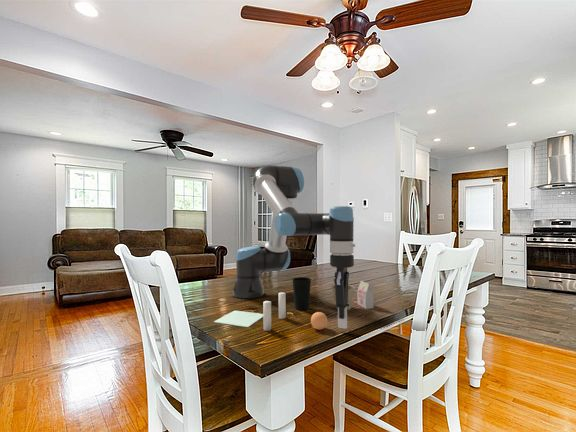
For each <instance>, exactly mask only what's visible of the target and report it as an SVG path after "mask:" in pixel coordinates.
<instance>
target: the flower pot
mask: <svg viewBox="0 0 576 432" xmlns="http://www.w3.org/2000/svg"><path fill="white" fill-rule="evenodd" d="M331 289H332V292H333V297H334V304H335V306H336V293H335V284H334V285H331ZM355 289H356V287H355V286H353V285H349V284H348V303H347V304H349V306H346V307H347V311H349V310H351V309H352V303H353V296H354V295H353V294H354V292H355ZM336 309H337V310H338V308H336Z"/></svg>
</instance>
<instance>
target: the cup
mask: <svg viewBox="0 0 576 432" xmlns="http://www.w3.org/2000/svg"><path fill="white" fill-rule="evenodd" d="M291 281H292V290H293V300H294V308H295V310H296V311H308V310H309V306H310V298H311V297H310V296H311V285H312V284H311V283H312V282H311V281H312V279H311V278H310V277H305V276H302V277H301V276H300V277H292V279H291Z"/></svg>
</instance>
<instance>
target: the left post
mask: <svg viewBox="0 0 576 432" xmlns="http://www.w3.org/2000/svg"><path fill="white" fill-rule="evenodd" d="M262 303H263V305H262V307H263V309H262V311H263V313H262V314H263V317H262V320H263V321H262V322H263V323H262V324H263V327H262V328H263V331H266V332H267V331H269V332H270V331H271V330H272V301H271V300H270V301H269V300H265V301H263V302H262Z"/></svg>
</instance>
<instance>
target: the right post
mask: <svg viewBox="0 0 576 432" xmlns="http://www.w3.org/2000/svg"><path fill="white" fill-rule="evenodd" d="M286 300H287V299H286V292H284V291H283V292H278V319H280V320H281V319H283V320H284V319H286V317H287V314H286V313H287V312H286V306H287V305H286Z"/></svg>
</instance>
